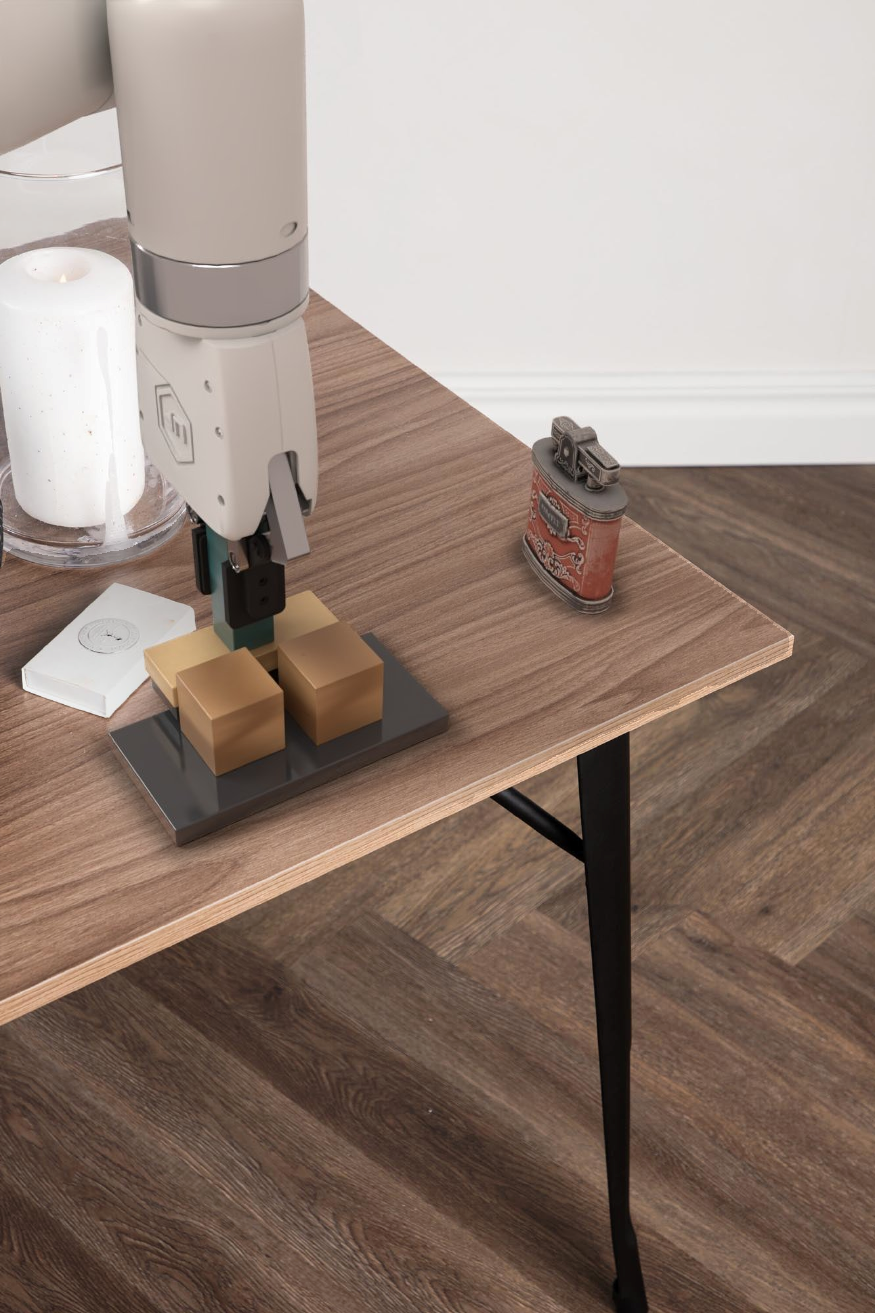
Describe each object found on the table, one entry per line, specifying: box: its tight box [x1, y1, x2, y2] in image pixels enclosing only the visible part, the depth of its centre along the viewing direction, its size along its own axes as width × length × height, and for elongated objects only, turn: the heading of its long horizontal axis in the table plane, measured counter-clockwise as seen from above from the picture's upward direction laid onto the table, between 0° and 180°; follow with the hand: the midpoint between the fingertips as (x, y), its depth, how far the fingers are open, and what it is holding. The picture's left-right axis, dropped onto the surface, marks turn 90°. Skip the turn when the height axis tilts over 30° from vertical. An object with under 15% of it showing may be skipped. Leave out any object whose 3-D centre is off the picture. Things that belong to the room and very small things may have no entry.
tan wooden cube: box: [175, 647, 285, 776], centre depth 72 cm, size 4×4×4 cm
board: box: [107, 631, 450, 847], centre depth 75 cm, size 16×8×1 cm, turn 124°
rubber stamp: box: [143, 521, 340, 721], centre depth 73 cm, size 10×4×11 cm, turn 124°
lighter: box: [521, 415, 629, 615], centre depth 84 cm, size 8×3×10 cm, turn 27°
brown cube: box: [277, 619, 384, 746], centre depth 74 cm, size 4×4×4 cm
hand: (240, 598), depth 73 cm, fingers closed on rubber stamp, 2 cm apart
